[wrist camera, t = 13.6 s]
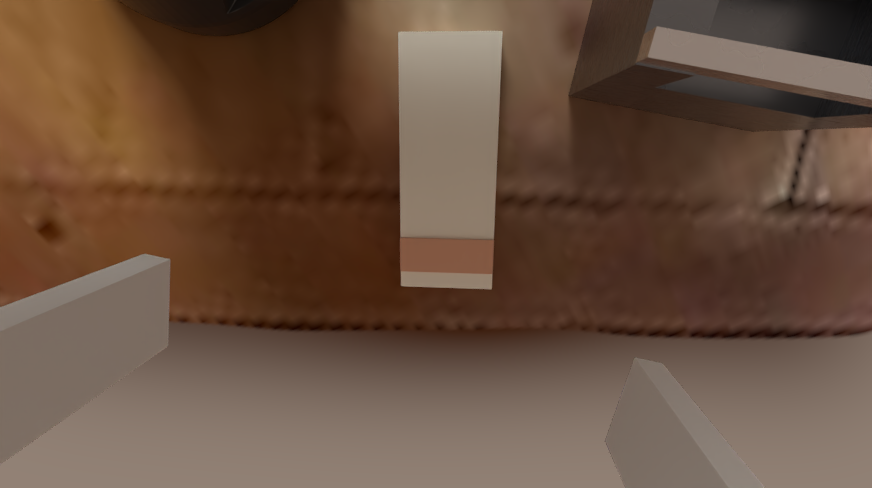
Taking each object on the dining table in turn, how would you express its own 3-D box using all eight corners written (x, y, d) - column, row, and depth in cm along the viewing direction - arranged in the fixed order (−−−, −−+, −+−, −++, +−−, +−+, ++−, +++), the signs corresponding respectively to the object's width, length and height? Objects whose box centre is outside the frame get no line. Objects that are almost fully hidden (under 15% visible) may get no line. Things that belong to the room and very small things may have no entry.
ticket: (406, 274, 28) (400, 287, 25) (405, 42, 25) (397, 30, 22) (490, 276, 28) (491, 290, 25) (499, 41, 24) (502, 29, 22)
